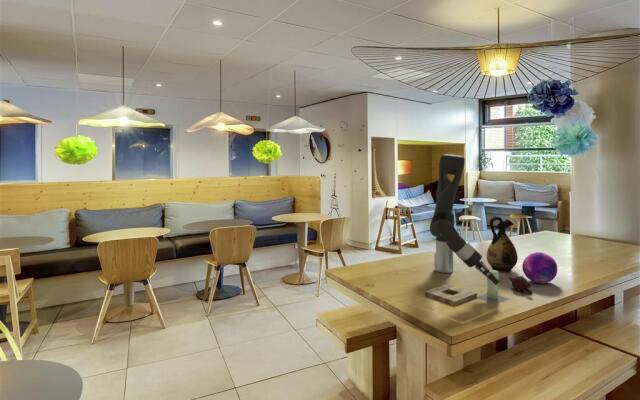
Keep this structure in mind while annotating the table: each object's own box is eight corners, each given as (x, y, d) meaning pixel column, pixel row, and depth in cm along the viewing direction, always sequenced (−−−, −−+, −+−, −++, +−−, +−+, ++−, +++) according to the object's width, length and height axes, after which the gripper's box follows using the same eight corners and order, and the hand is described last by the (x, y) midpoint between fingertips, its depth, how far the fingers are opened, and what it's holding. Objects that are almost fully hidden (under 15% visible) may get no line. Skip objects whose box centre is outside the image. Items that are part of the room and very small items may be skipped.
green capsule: (484, 297, 168) (485, 271, 166) (490, 295, 170) (490, 269, 169) (494, 300, 164) (494, 273, 163) (499, 298, 167) (500, 271, 165)
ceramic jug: (510, 266, 216) (511, 214, 213) (522, 274, 201) (523, 218, 198) (479, 266, 218) (480, 214, 215) (488, 274, 202) (489, 219, 199)
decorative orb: (548, 289, 177) (549, 258, 176) (516, 282, 189) (517, 252, 188) (562, 283, 186) (563, 253, 184) (530, 276, 198) (531, 247, 197)
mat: (475, 298, 169) (475, 297, 169) (488, 293, 174) (488, 292, 174) (497, 304, 161) (497, 303, 161) (509, 299, 166) (509, 298, 166)
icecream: (501, 273, 184) (523, 285, 169) (514, 268, 185) (537, 280, 170) (503, 286, 185) (525, 299, 171) (516, 281, 186) (539, 293, 172)
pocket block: (424, 296, 173) (424, 291, 173) (446, 288, 182) (446, 284, 182) (454, 306, 160) (454, 301, 160) (476, 297, 169) (476, 293, 169)
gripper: (478, 252, 160) (506, 279, 159) (470, 244, 174) (496, 269, 173) (464, 264, 161) (492, 291, 160) (458, 255, 175) (484, 280, 174)
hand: (494, 280), depth 167 cm, fingers open, 8 cm apart
